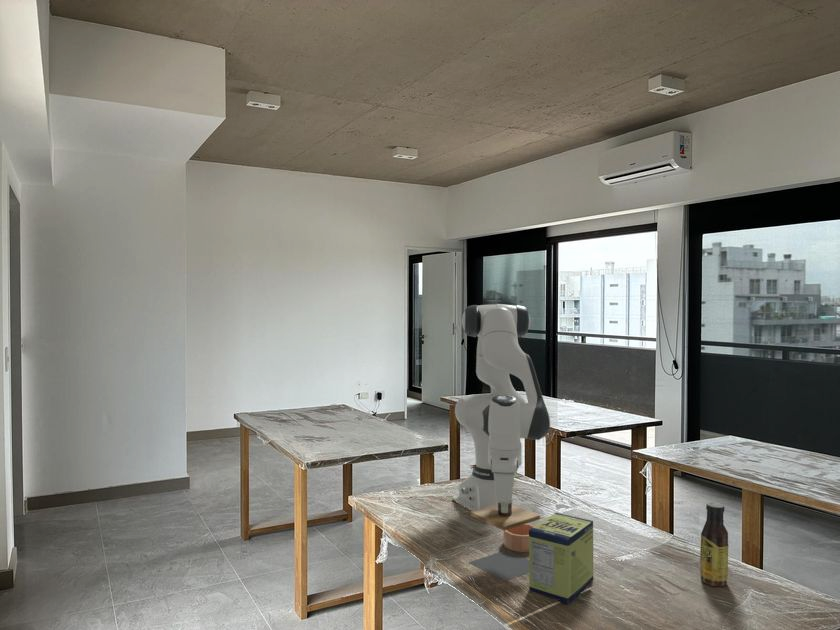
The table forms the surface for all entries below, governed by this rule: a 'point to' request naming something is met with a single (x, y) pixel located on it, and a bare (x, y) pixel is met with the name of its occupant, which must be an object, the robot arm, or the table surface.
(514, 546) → the bowl
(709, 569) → the sauce bottle
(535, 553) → the protein box
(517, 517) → the lid
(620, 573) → the table surface
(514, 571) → the mat
